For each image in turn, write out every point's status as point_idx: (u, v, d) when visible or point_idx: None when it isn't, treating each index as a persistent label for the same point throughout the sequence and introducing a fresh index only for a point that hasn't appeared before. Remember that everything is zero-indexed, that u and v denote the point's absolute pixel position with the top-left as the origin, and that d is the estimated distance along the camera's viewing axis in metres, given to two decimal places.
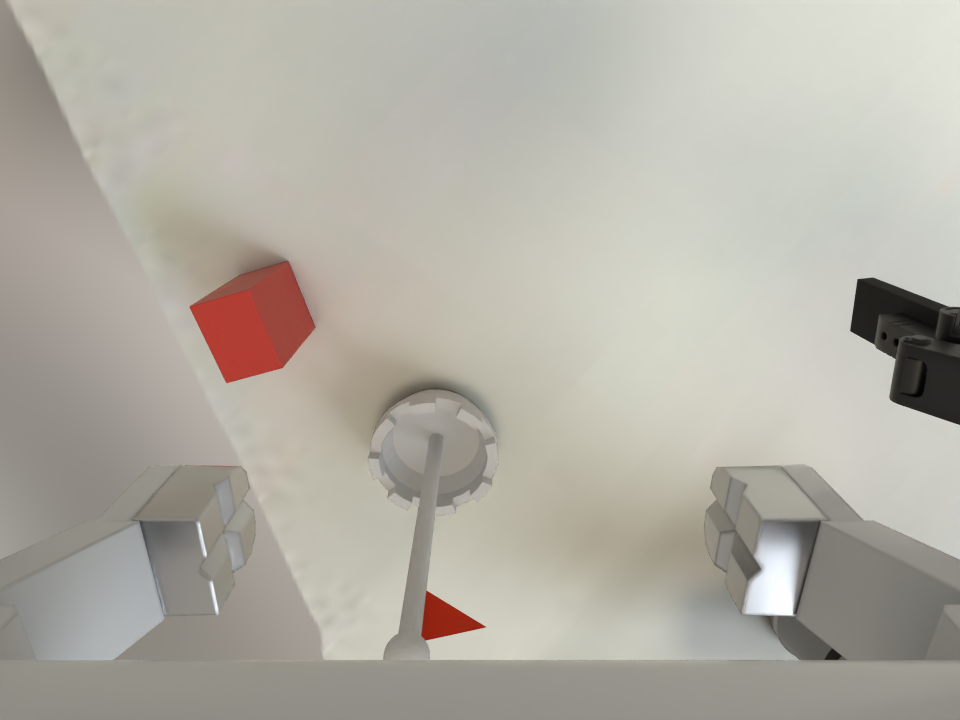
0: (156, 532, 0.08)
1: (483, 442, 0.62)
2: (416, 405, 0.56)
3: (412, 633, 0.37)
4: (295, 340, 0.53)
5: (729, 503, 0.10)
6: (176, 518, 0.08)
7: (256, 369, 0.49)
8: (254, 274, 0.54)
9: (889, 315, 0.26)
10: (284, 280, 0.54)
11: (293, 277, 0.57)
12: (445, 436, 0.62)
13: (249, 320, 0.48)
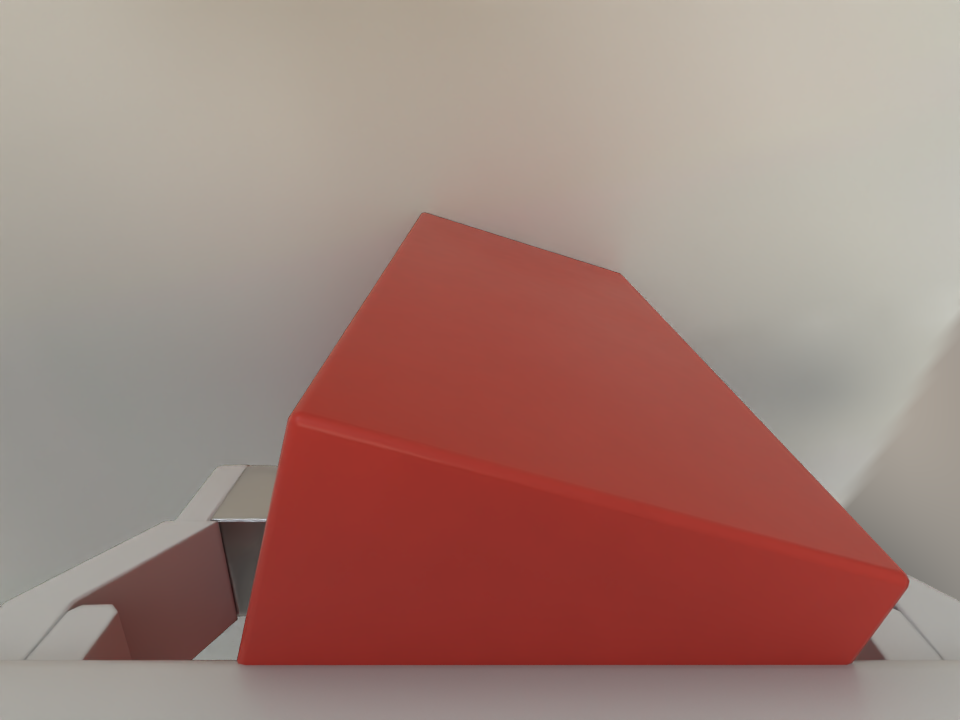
0: (234, 532, 0.08)
1: None
2: None
3: None
4: None
5: None
6: (253, 518, 0.08)
7: (550, 540, 0.05)
8: None
9: None
10: None
11: None
12: None
13: None
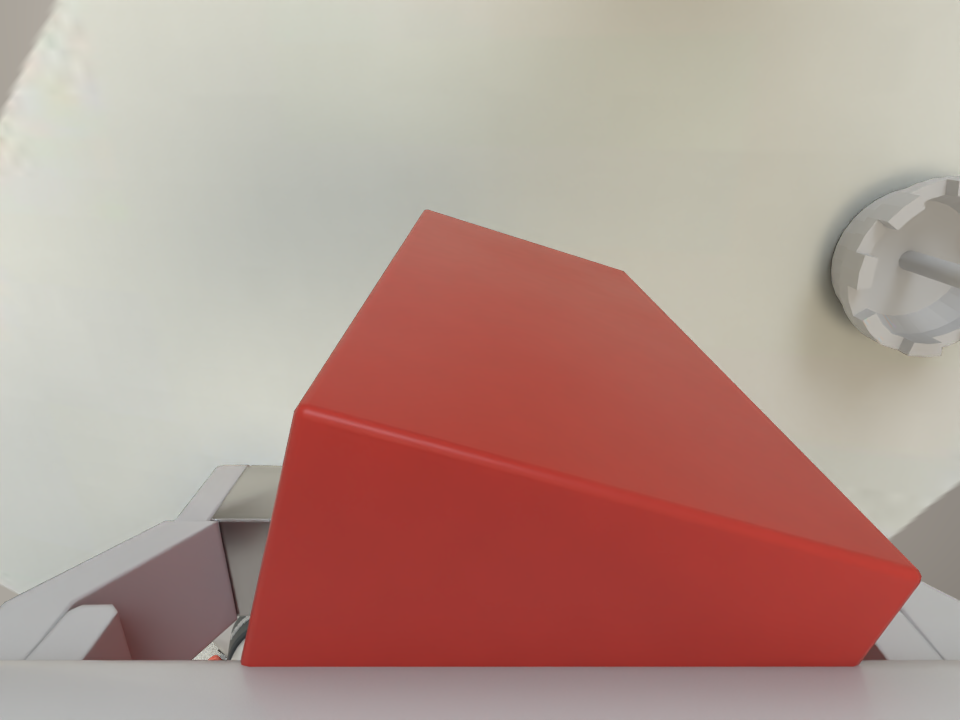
0: (234, 532, 0.08)
1: None
2: (876, 336, 0.44)
3: None
4: None
5: None
6: (254, 518, 0.08)
7: (560, 535, 0.05)
8: None
9: None
10: None
11: None
12: (899, 253, 0.46)
13: None
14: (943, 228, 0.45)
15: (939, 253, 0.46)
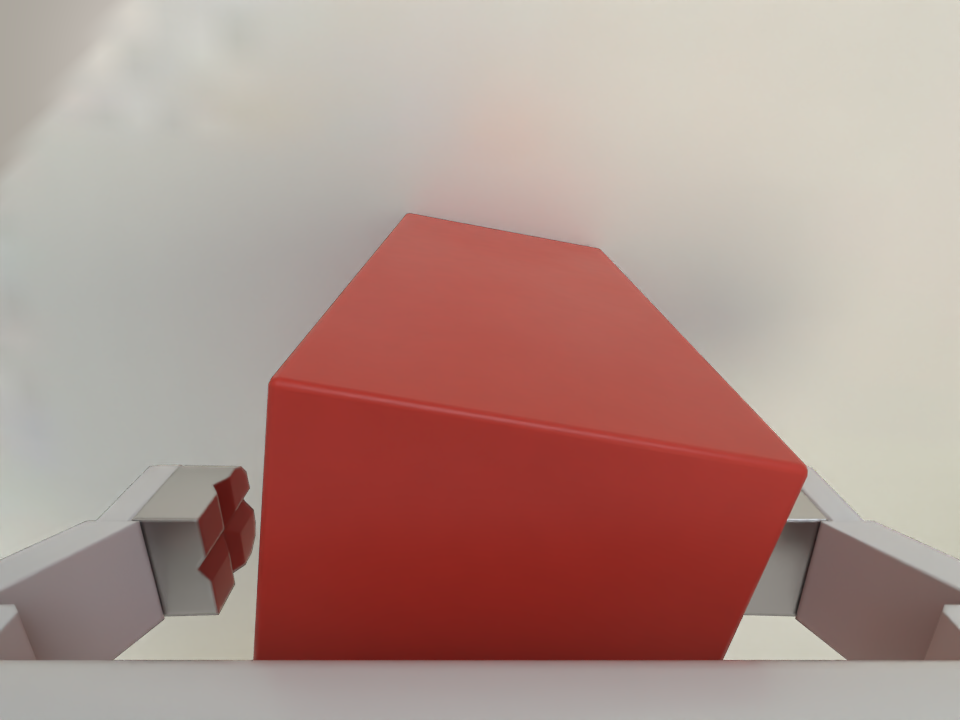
0: (156, 532, 0.08)
1: None
2: None
3: None
4: None
5: None
6: (176, 518, 0.08)
7: (495, 463, 0.06)
8: None
9: None
10: None
11: None
12: None
13: None
14: None
15: None
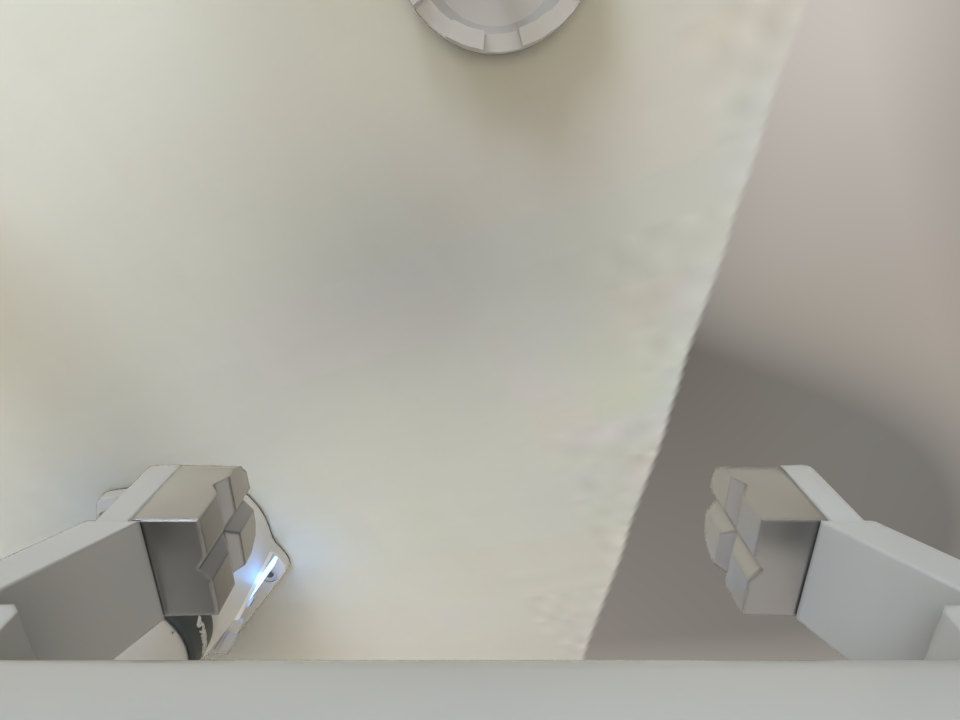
0: (156, 532, 0.08)
1: None
2: (473, 45, 0.37)
3: None
4: None
5: (729, 503, 0.10)
6: (176, 518, 0.08)
7: None
8: None
9: None
10: None
11: None
12: None
13: None
14: None
15: None
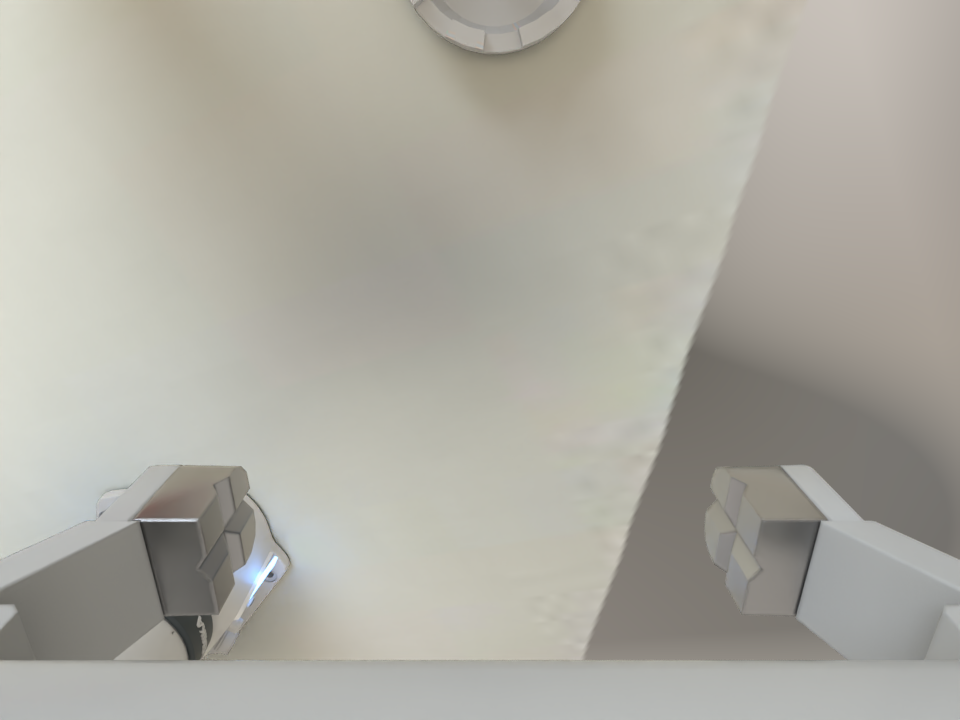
0: (156, 532, 0.08)
1: None
2: (473, 45, 0.37)
3: None
4: None
5: (729, 503, 0.10)
6: (176, 518, 0.08)
7: None
8: None
9: None
10: None
11: None
12: None
13: None
14: None
15: None
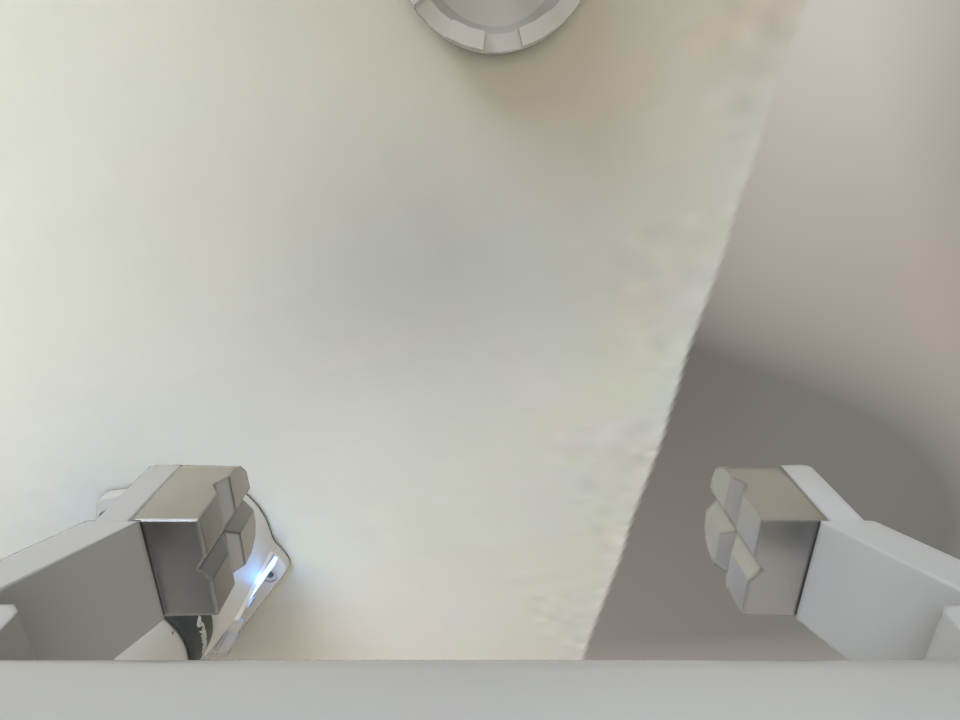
0: (156, 532, 0.08)
1: None
2: (473, 45, 0.37)
3: None
4: None
5: (729, 503, 0.10)
6: (176, 518, 0.08)
7: None
8: None
9: None
10: None
11: None
12: None
13: None
14: None
15: None
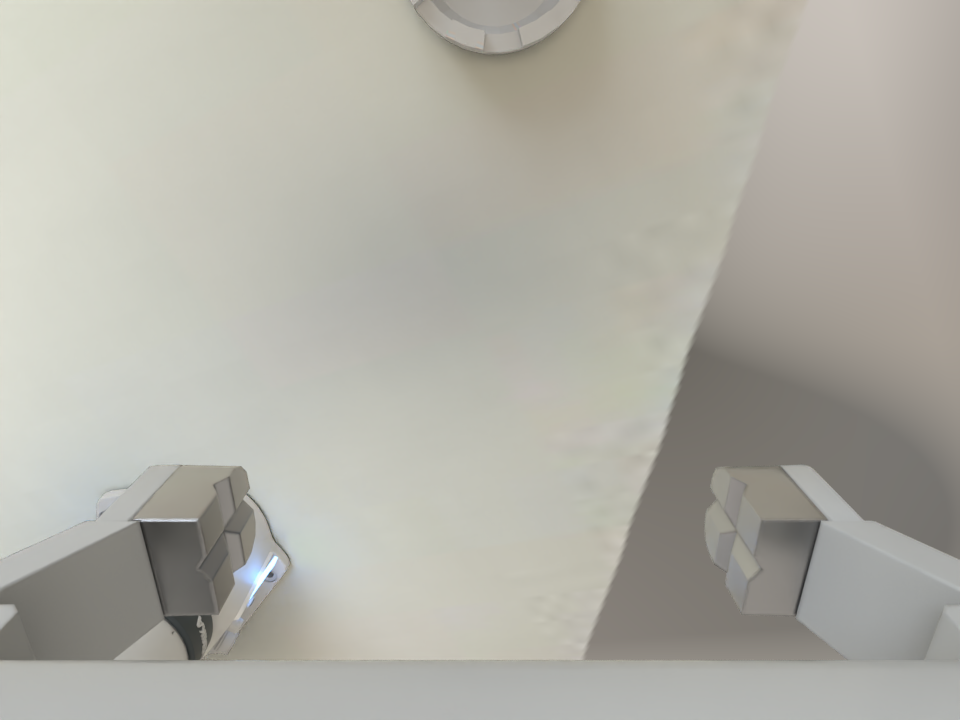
0: (156, 532, 0.08)
1: None
2: (473, 45, 0.37)
3: None
4: None
5: (729, 503, 0.10)
6: (176, 518, 0.08)
7: None
8: None
9: None
10: None
11: None
12: None
13: None
14: None
15: None
